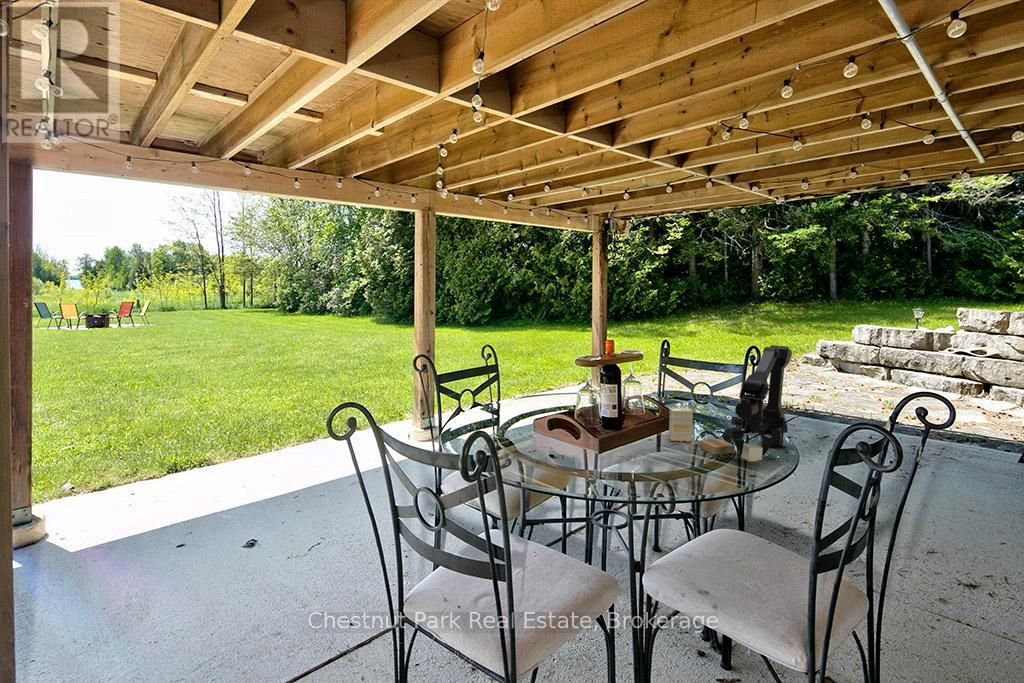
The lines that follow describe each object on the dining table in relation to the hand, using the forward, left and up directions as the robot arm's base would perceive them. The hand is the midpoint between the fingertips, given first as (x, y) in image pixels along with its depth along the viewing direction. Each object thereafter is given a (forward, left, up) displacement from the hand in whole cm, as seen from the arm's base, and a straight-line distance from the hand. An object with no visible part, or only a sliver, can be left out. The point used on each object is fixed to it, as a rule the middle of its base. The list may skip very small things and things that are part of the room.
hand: (751, 455), depth 186 cm
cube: (0, 0, -1) cm, 1 cm away
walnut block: (+8, -10, -2) cm, 13 cm away
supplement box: (+16, -24, -1) cm, 29 cm away
